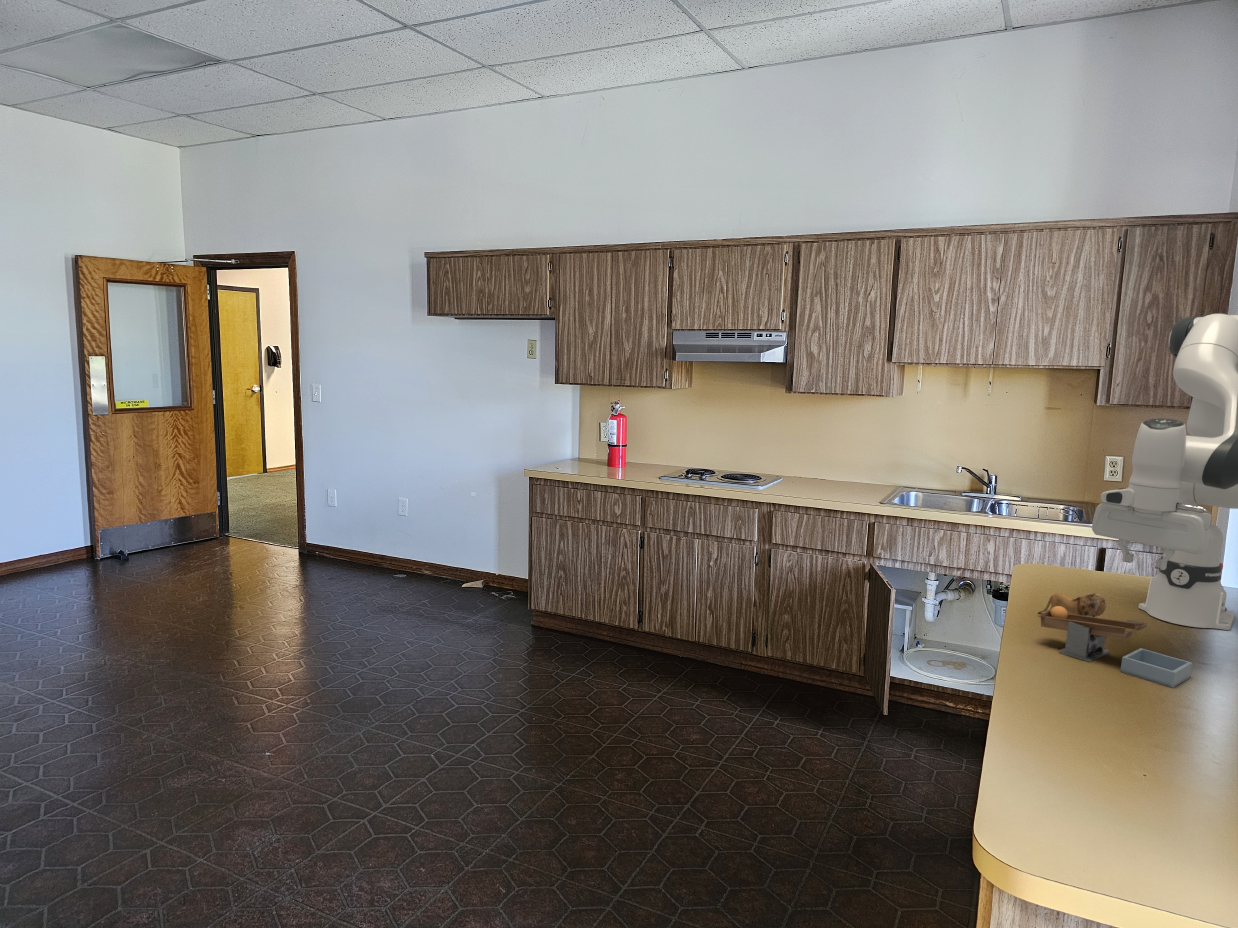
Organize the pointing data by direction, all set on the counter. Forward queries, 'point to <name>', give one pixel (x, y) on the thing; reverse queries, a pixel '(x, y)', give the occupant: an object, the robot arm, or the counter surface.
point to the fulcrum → (1083, 643)
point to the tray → (1156, 667)
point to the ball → (1058, 612)
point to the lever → (1095, 625)
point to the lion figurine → (1079, 604)
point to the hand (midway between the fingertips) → (1143, 565)
